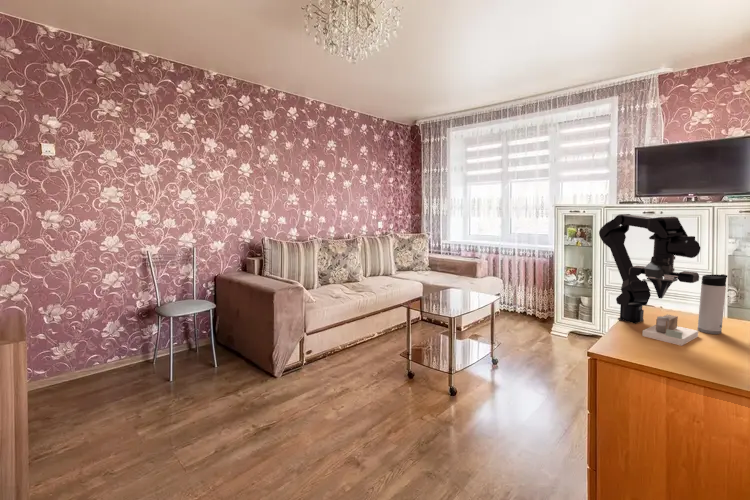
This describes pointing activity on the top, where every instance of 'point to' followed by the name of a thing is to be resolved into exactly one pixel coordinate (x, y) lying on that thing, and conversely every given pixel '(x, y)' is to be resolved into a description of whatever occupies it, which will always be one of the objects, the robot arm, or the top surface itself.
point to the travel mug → (712, 303)
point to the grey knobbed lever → (666, 323)
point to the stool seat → (672, 335)
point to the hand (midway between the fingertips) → (660, 298)
